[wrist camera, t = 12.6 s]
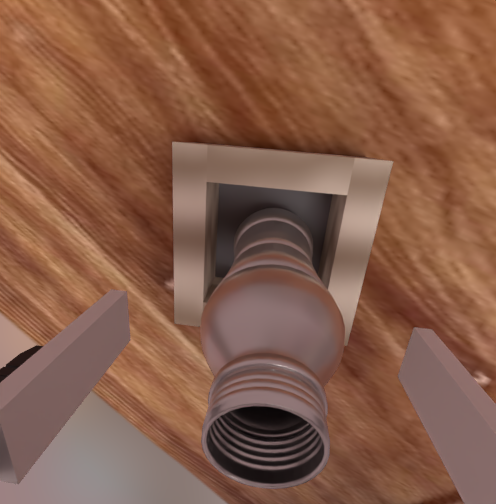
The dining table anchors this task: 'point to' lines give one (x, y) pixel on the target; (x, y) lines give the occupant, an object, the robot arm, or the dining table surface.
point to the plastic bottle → (270, 356)
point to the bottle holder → (271, 196)
